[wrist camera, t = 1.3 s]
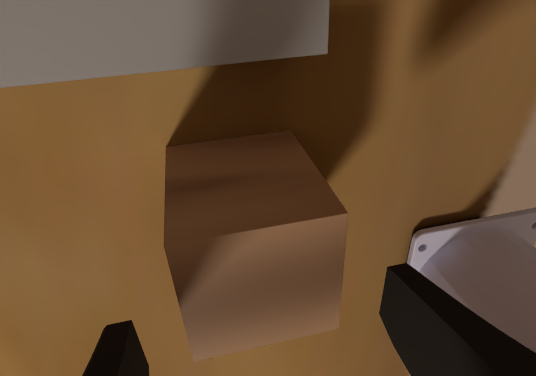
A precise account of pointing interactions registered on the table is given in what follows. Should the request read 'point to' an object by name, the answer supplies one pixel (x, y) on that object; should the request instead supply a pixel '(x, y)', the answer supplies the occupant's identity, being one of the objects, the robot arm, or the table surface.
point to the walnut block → (252, 242)
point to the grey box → (151, 36)
